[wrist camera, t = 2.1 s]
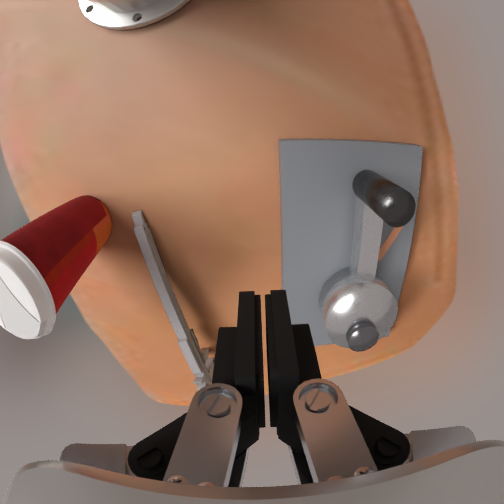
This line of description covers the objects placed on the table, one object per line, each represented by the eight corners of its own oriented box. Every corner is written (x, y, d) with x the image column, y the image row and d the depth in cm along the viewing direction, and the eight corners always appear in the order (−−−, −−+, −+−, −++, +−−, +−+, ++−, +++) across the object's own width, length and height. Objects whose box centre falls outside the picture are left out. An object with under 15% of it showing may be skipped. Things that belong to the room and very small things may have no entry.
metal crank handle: (324, 167, 22) (351, 189, 16) (400, 169, 22) (442, 191, 16) (316, 324, 30) (328, 372, 24) (376, 318, 30) (397, 361, 24)
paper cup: (50, 200, 25) (-41, 265, 12) (103, 173, 24) (3, 234, 12) (80, 263, 28) (11, 349, 16) (134, 245, 27) (68, 343, 15)
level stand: (278, 139, 23) (280, 140, 22) (414, 144, 23) (423, 146, 21) (281, 339, 33) (282, 349, 32) (384, 328, 33) (388, 336, 31)
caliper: (215, 358, 35) (211, 397, 29) (207, 359, 35) (202, 398, 30) (142, 208, 26) (116, 235, 20) (132, 211, 26) (105, 239, 21)
